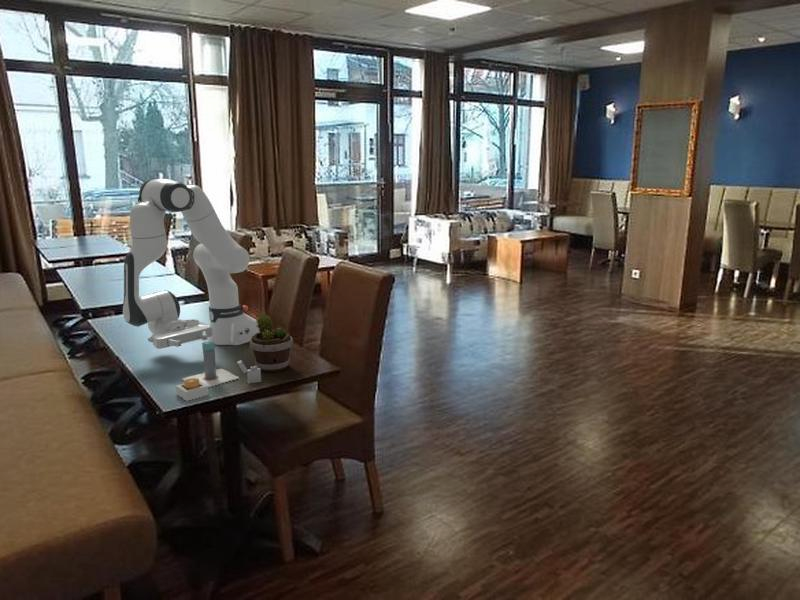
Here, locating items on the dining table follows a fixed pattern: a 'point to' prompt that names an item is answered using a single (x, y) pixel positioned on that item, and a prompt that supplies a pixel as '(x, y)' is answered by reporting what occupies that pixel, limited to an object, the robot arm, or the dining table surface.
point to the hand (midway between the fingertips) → (192, 340)
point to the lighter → (251, 373)
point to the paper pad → (220, 378)
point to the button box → (192, 391)
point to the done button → (191, 383)
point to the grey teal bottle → (209, 360)
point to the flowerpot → (270, 346)
